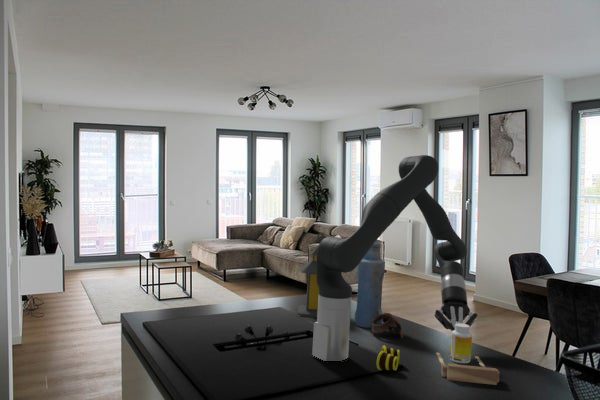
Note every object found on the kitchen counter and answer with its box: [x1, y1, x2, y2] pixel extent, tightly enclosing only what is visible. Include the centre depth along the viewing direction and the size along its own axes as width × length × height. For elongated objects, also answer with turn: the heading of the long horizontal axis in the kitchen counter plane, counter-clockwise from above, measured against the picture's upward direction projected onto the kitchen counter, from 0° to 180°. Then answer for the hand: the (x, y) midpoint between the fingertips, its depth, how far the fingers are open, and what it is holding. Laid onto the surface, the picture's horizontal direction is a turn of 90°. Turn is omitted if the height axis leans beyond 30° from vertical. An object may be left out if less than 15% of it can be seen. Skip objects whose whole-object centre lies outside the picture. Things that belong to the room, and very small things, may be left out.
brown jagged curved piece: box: [371, 312, 404, 339], centre depth 168 cm, size 12×10×8 cm
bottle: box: [354, 239, 386, 329], centre depth 178 cm, size 10×10×30 cm
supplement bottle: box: [449, 323, 473, 365], centre depth 145 cm, size 6×6×10 cm
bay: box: [435, 352, 501, 386], centre depth 139 cm, size 22×14×4 cm, turn 172°
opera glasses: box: [375, 345, 401, 371], centre depth 136 cm, size 10×5×5 cm, turn 163°
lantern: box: [297, 232, 325, 318], centre depth 193 cm, size 14×14×30 cm
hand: (458, 341), depth 149 cm, fingers closed
